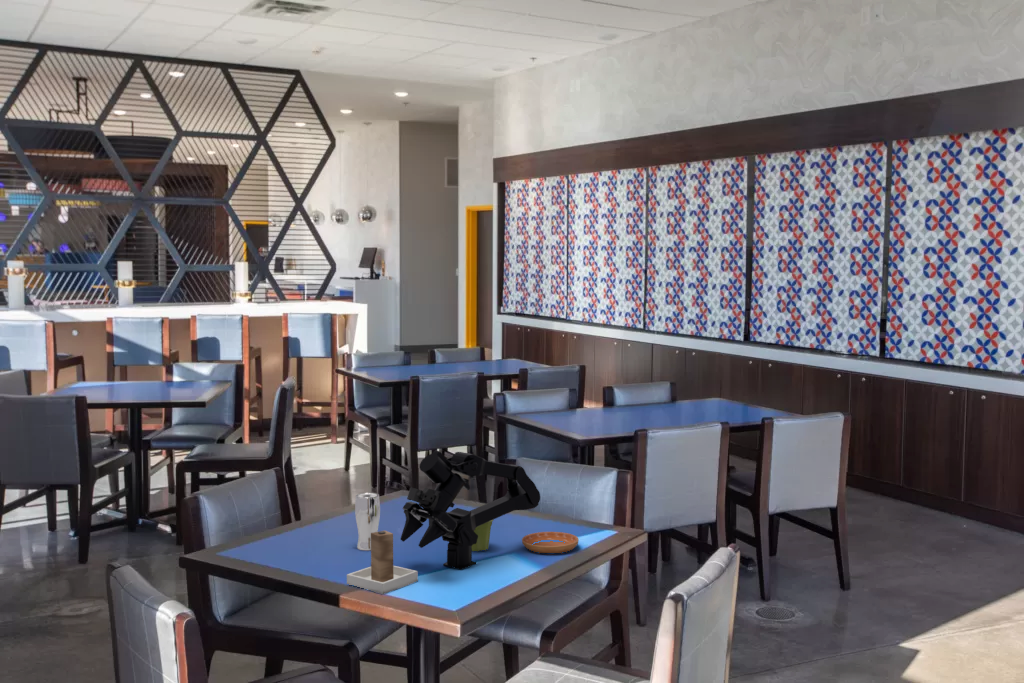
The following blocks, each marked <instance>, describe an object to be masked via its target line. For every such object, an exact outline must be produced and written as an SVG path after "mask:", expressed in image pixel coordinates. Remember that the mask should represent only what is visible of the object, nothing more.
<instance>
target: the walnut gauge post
mask: <svg viewBox="0 0 1024 683" xmlns="http://www.w3.org/2000/svg"><path fill="white" fill-rule="evenodd" d="M370 563H371V564H370V567H371V580H375V581H379V582H386V581H388V580H391V579H394V574H393V565H394V533H392V532H390V531H389V530H378V532H374V533H371V550H370Z"/></svg>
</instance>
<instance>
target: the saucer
mask: <svg viewBox="0 0 1024 683" xmlns="http://www.w3.org/2000/svg"><path fill="white" fill-rule="evenodd" d="M579 539H580V538H579V537H578V536H576V535H574V534H572V533H569V532H568V533H567V532H562V531H540V532H534V533H533V532H532V533H529V534H527V535H524V536H523V537H522V538H521V541H522V545H523V546H524V547H525V548H526V549H527V550H528V549H529V551H530V550H531V551H530V552H532V551H534V552H533V553H535V552H539V553H538V554H540V553H561V554H563V553H562V552H566V553H568V552H567V551H569V552H571V551H572V550H573V549H574V548H576V547H577V546H578V544H579ZM541 540H559V541H563V542H553V541H550V542H539V543H535V544H533V543H534V542H538V541H541ZM564 542H565V543H564ZM532 544H533V545H532ZM570 550H571V551H570Z"/></svg>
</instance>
